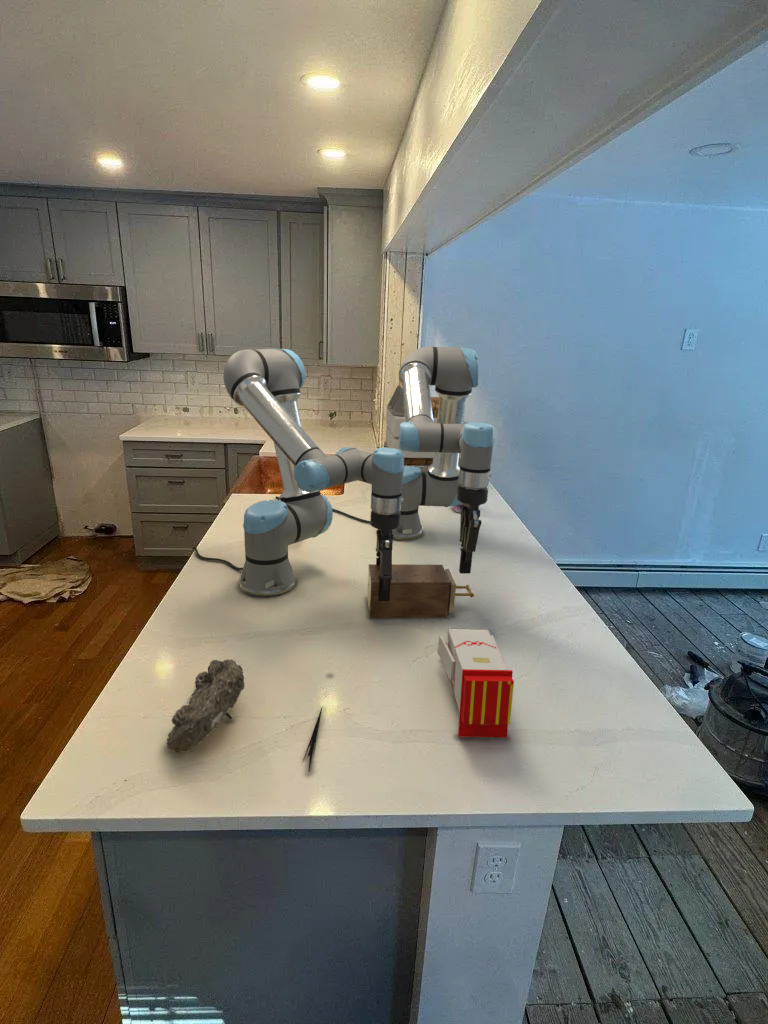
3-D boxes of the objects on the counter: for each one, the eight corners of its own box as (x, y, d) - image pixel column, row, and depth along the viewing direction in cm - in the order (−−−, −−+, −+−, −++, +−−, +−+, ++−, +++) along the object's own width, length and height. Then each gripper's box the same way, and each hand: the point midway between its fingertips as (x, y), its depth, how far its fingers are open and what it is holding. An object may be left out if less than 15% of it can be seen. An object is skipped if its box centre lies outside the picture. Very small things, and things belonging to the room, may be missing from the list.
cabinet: (439, 598, 157) (442, 564, 153) (446, 617, 147) (450, 582, 143) (367, 598, 155) (368, 564, 151) (369, 618, 145) (371, 582, 141)
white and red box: (488, 613, 130) (523, 677, 101) (484, 667, 133) (517, 744, 104) (435, 612, 130) (455, 676, 101) (432, 666, 133) (451, 743, 103)
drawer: (466, 596, 157) (469, 568, 154) (474, 613, 148) (477, 584, 145) (378, 596, 154) (379, 568, 151) (381, 613, 145) (382, 584, 143)
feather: (331, 679, 122) (336, 673, 122) (307, 777, 96) (313, 769, 95) (324, 675, 122) (329, 669, 121) (298, 772, 95) (304, 764, 95)
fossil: (192, 660, 117) (244, 628, 112) (224, 691, 120) (276, 661, 115) (142, 746, 98) (202, 712, 93) (182, 779, 101) (242, 748, 96)
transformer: (382, 463, 289) (386, 382, 275) (445, 464, 293) (451, 384, 279) (390, 482, 257) (394, 392, 243) (460, 483, 261) (468, 394, 247)
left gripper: (406, 527, 130) (401, 612, 138) (395, 496, 152) (392, 570, 160) (374, 527, 130) (370, 612, 137) (368, 495, 151) (365, 570, 159)
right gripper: (495, 494, 135) (485, 583, 143) (481, 479, 147) (472, 561, 155) (464, 493, 134) (455, 583, 142) (453, 478, 146) (445, 561, 154)
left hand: (382, 590), depth 148 cm, fingers closed on cabinet, 10 cm apart
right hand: (464, 572), depth 148 cm, fingers closed
